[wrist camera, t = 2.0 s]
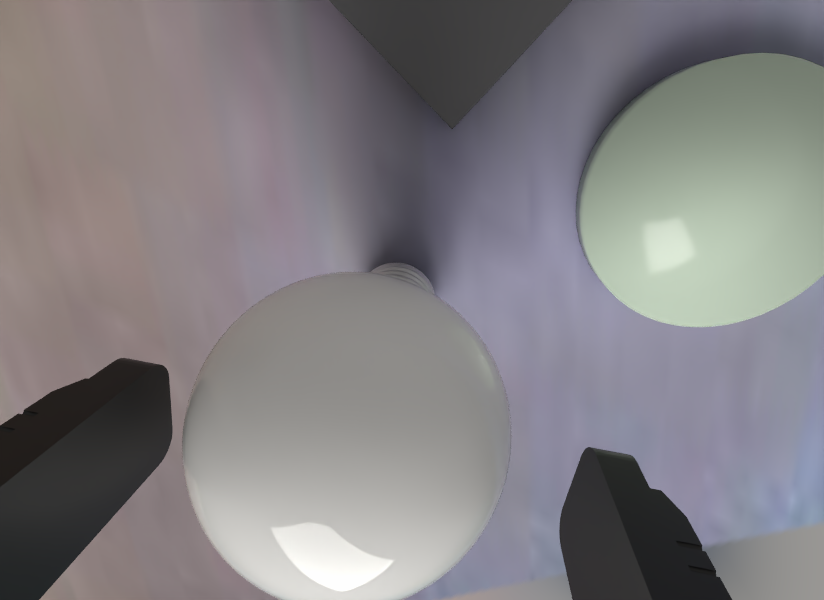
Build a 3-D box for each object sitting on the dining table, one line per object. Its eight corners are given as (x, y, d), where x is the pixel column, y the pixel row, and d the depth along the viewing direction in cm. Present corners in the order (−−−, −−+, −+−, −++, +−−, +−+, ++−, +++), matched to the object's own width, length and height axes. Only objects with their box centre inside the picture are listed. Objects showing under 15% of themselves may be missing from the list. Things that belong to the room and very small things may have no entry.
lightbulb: (388, 164, 15) (243, 261, 5) (525, 288, 16) (637, 575, 6) (281, 296, 17) (25, 554, 7) (408, 397, 18) (346, 746, 8)
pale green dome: (529, 169, 15) (534, 172, 14) (788, -9, 12) (815, -20, 11) (645, 354, 17) (656, 368, 16) (887, 229, 14) (917, 237, 13)
